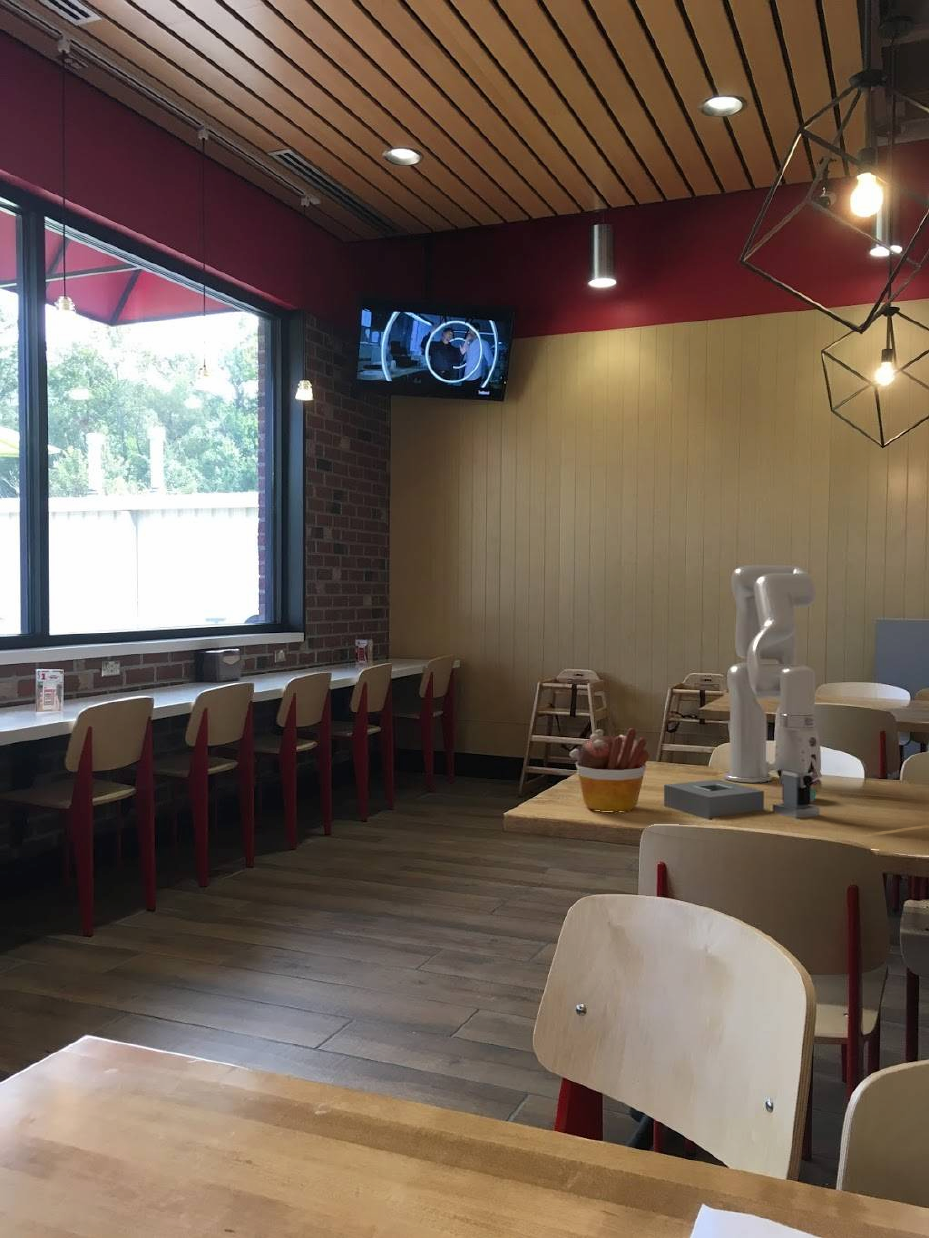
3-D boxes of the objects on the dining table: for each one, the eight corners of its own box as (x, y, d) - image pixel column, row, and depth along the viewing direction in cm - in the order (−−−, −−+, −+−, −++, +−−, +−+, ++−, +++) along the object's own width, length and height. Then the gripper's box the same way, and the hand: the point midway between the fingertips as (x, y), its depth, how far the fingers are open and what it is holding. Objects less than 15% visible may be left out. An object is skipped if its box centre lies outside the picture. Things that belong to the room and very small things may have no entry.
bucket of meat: (560, 802, 240) (560, 720, 240) (620, 797, 246) (620, 717, 246) (601, 820, 221) (602, 730, 221) (665, 814, 228) (665, 727, 227)
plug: (796, 810, 229) (796, 769, 229) (809, 814, 225) (810, 772, 225) (782, 812, 227) (782, 770, 227) (795, 816, 223) (796, 773, 223)
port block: (717, 799, 244) (717, 778, 244) (763, 812, 230) (763, 790, 229) (664, 805, 237) (664, 783, 237) (708, 819, 222) (709, 796, 222)
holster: (796, 811, 231) (796, 801, 231) (819, 817, 224) (819, 807, 224) (772, 814, 228) (772, 804, 228) (795, 821, 221) (795, 810, 221)
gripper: (838, 725, 220) (837, 808, 220) (782, 717, 235) (781, 794, 235) (812, 727, 216) (811, 811, 217) (758, 718, 231) (757, 797, 232)
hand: (796, 801), depth 226 cm, fingers closed on plug, 4 cm apart
